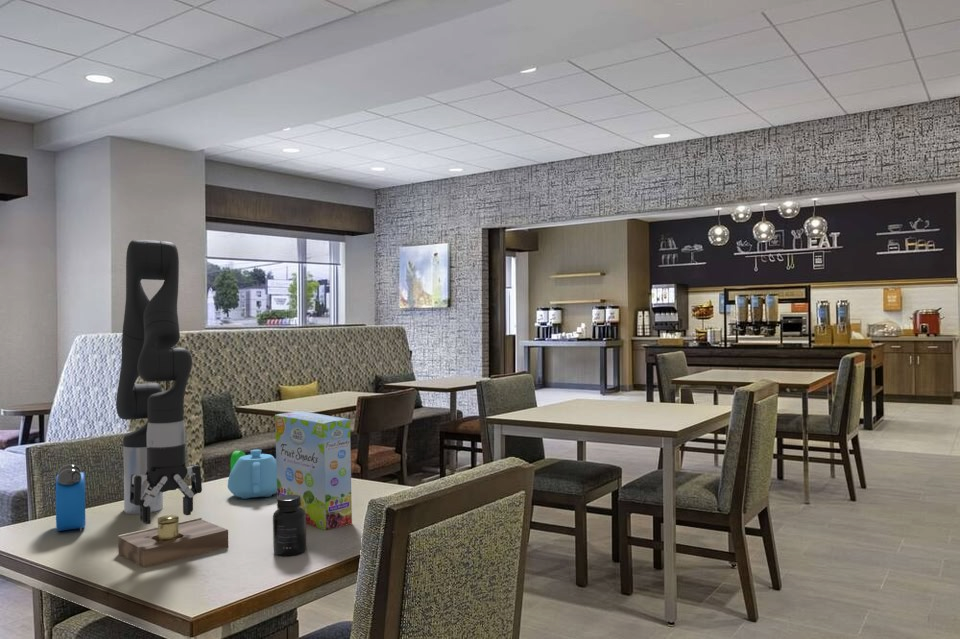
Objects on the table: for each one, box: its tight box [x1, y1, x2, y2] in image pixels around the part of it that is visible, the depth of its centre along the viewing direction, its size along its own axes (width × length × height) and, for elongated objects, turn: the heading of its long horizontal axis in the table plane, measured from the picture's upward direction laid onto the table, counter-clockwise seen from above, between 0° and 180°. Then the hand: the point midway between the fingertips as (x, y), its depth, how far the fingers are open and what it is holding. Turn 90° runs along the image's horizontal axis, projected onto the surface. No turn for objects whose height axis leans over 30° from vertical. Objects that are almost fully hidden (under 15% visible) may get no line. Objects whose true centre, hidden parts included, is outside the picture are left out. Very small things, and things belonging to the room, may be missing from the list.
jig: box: [117, 517, 229, 569], centre depth 157 cm, size 13×18×4 cm
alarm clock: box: [54, 463, 86, 532], centre depth 175 cm, size 13×6×15 cm, turn 29°
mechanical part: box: [229, 450, 246, 472], centre depth 234 cm, size 12×6×8 cm, turn 165°
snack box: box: [274, 410, 353, 531], centre depth 181 cm, size 22×9×26 cm, turn 47°
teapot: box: [227, 449, 277, 500], centre depth 208 cm, size 20×20×13 cm
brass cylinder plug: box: [157, 514, 180, 542], centre depth 155 cm, size 4×4×8 cm
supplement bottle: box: [272, 495, 308, 558], centre depth 155 cm, size 7×7×12 cm
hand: (167, 519), depth 155 cm, fingers open, 8 cm apart
